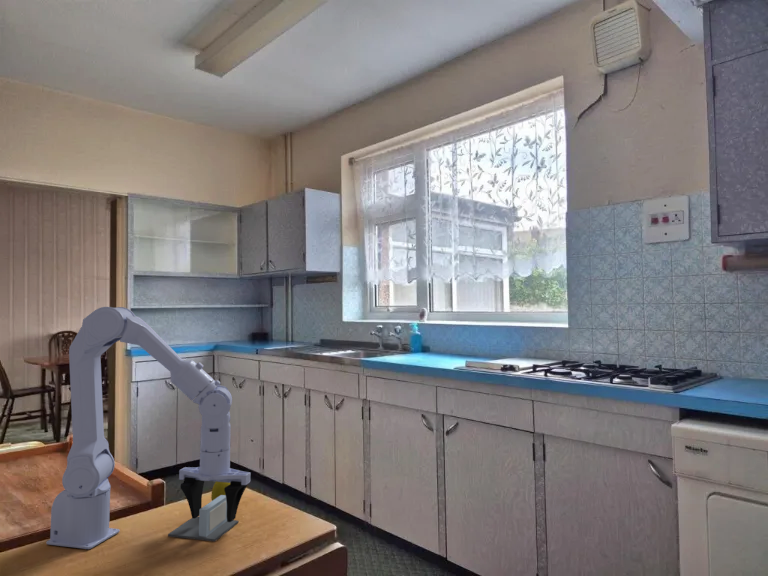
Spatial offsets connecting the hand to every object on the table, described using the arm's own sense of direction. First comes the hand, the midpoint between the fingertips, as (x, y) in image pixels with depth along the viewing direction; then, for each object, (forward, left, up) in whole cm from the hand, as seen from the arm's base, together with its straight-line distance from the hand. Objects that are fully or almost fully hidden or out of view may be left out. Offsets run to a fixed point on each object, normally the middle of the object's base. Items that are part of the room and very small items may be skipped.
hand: (213, 518), depth 102 cm
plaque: (0, 0, -2) cm, 2 cm away
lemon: (-2, +8, -2) cm, 9 cm away
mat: (-2, 0, -2) cm, 3 cm away
